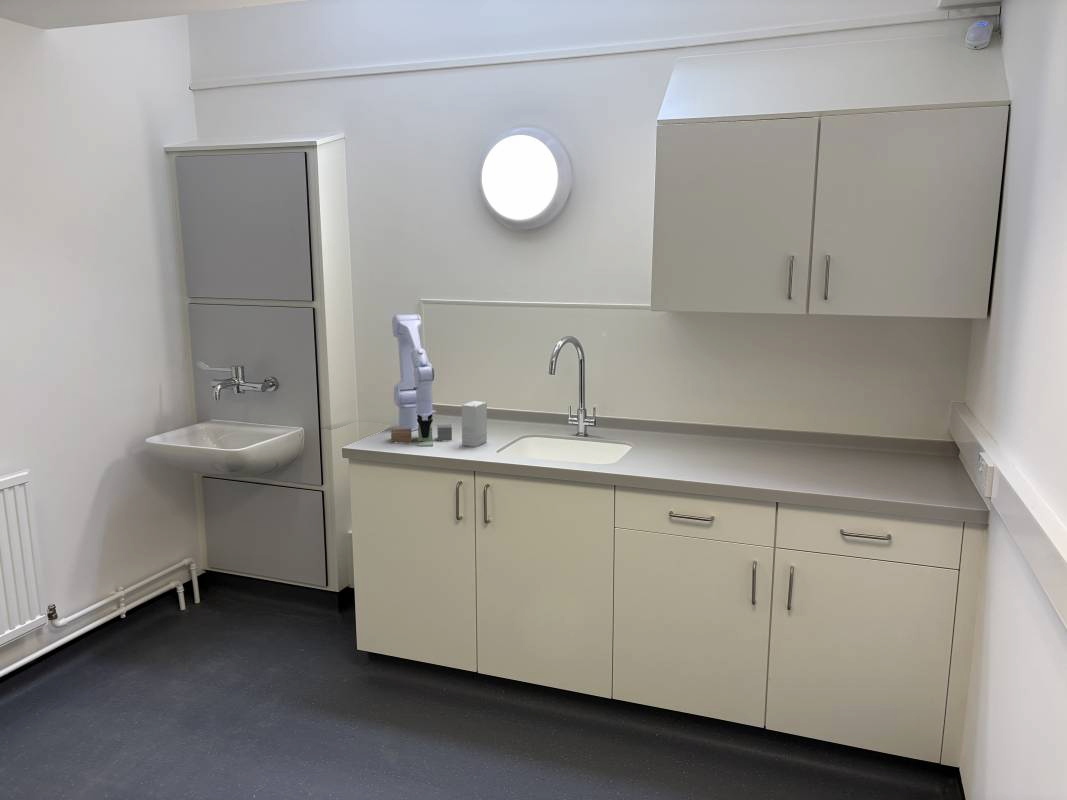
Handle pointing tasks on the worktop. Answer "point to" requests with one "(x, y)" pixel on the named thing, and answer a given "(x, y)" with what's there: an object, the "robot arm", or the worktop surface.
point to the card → (426, 443)
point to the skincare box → (474, 423)
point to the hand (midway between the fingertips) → (425, 435)
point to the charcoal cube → (444, 432)
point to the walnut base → (401, 435)
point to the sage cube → (421, 435)
